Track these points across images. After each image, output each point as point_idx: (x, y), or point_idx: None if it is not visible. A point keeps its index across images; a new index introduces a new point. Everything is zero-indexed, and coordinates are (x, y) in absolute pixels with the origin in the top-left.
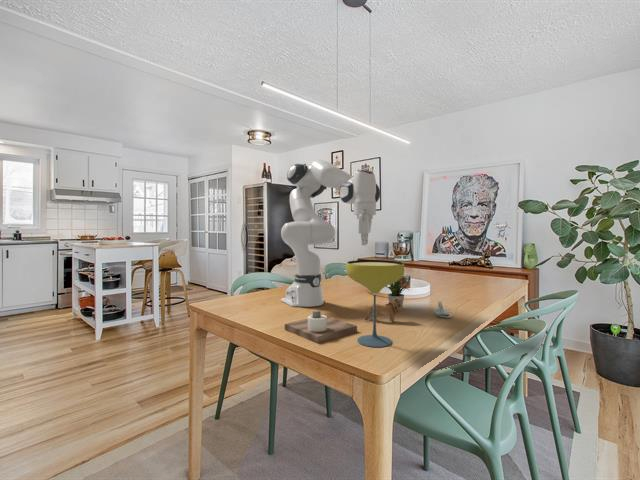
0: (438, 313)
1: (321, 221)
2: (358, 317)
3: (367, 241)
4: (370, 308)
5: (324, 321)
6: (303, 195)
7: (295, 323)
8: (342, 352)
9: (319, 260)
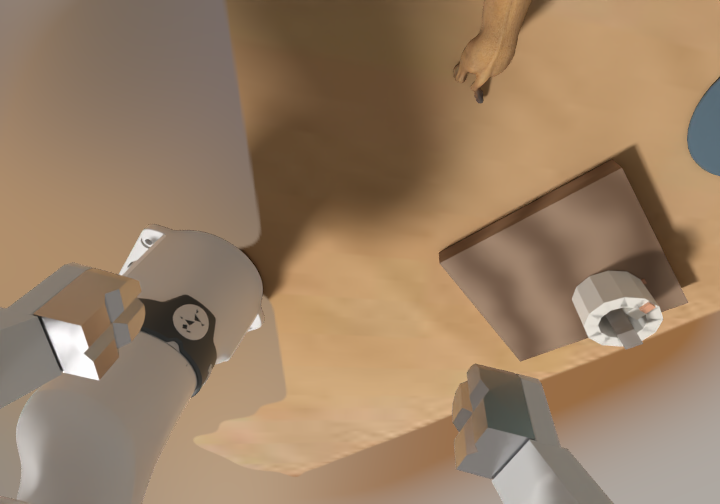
0: None
1: None
2: (411, 119)
3: (89, 301)
4: (482, 84)
5: (654, 300)
6: None
7: (524, 339)
8: None
9: (87, 393)
